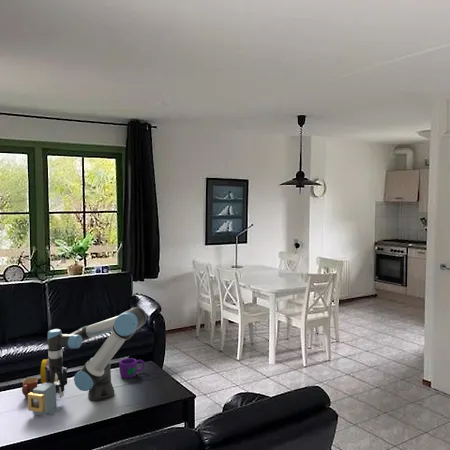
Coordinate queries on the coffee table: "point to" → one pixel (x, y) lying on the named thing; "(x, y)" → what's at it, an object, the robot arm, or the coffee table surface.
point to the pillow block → (47, 398)
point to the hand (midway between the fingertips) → (57, 396)
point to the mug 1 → (29, 386)
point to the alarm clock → (43, 371)
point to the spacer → (41, 402)
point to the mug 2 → (129, 367)
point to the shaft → (56, 392)
